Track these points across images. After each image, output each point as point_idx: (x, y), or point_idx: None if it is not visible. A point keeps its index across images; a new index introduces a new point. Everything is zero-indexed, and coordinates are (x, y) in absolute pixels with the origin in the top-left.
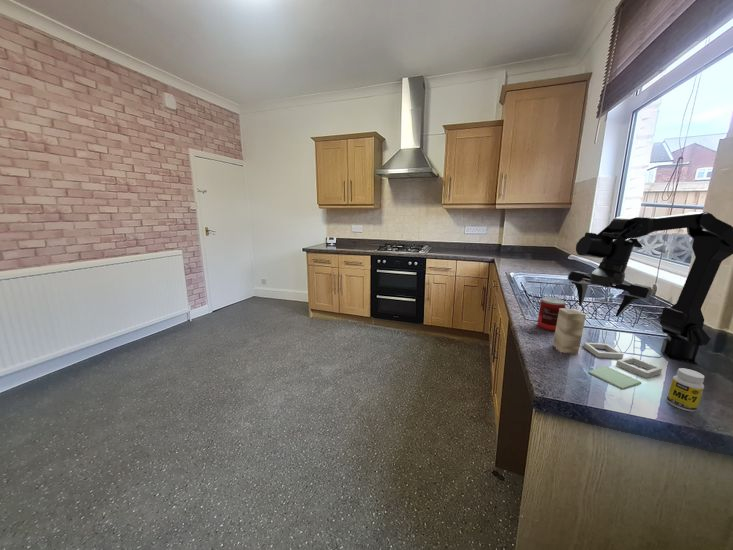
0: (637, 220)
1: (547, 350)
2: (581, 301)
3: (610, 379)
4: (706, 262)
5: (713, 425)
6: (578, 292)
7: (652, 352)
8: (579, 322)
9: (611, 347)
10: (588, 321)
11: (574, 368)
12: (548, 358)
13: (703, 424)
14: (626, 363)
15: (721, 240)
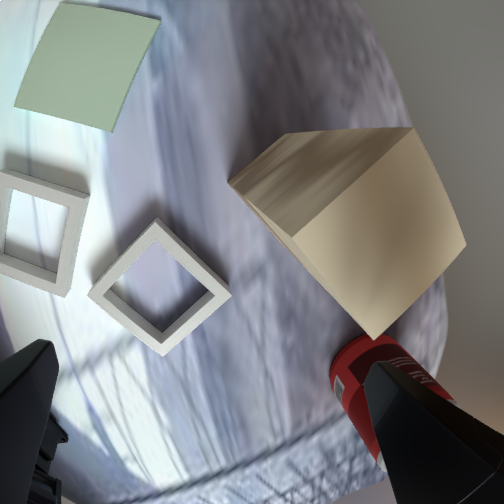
0: None
1: (330, 113)
2: (398, 387)
3: (90, 25)
4: None
5: None
6: (492, 432)
7: (69, 412)
8: (297, 188)
9: (138, 331)
10: (265, 486)
11: (207, 19)
12: (305, 37)
13: None
14: (54, 197)
15: None
